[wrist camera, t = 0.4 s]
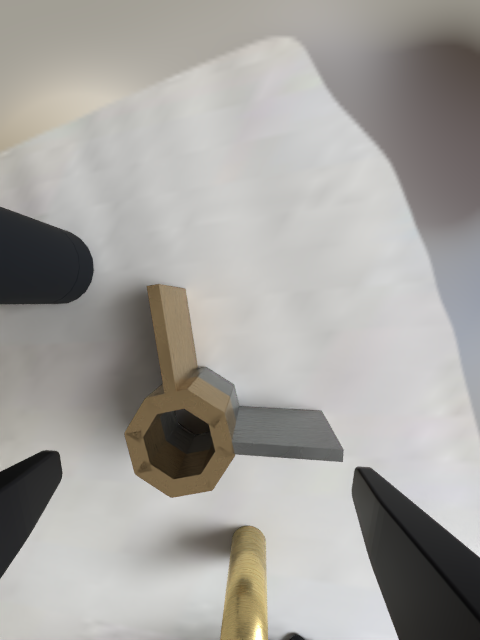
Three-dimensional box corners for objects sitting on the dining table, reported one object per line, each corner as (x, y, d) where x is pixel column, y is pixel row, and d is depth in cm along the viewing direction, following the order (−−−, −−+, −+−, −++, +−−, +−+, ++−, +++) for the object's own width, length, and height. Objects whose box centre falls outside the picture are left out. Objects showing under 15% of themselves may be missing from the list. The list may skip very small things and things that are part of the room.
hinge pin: (254, 563, 24) (251, 692, 16) (225, 545, 24) (208, 664, 16) (272, 538, 24) (277, 656, 16) (243, 519, 24) (234, 627, 16)
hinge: (268, 497, 24) (271, 563, 18) (113, 397, 24) (65, 429, 18) (343, 387, 23) (373, 417, 17) (179, 285, 23) (150, 278, 17)
